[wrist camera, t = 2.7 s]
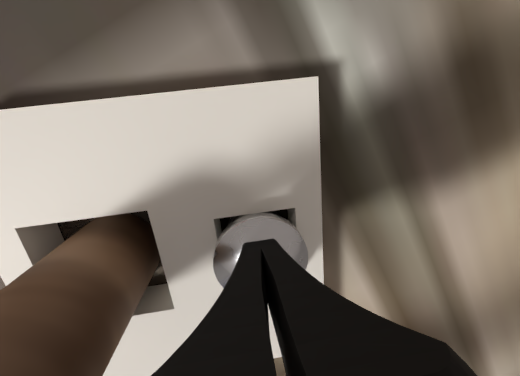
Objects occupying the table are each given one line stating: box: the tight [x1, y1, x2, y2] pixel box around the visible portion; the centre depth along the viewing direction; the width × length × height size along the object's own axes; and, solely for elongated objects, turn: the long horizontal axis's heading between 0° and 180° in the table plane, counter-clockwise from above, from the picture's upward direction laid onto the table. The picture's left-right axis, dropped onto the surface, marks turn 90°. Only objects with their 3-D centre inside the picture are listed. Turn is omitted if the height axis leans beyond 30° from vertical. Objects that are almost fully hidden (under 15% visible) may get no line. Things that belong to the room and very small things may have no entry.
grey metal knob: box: [213, 210, 308, 288], centre depth 11 cm, size 4×4×3 cm
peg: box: [0, 213, 161, 376], centre depth 9 cm, size 4×4×8 cm
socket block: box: [0, 76, 324, 376], centre depth 12 cm, size 14×14×2 cm
